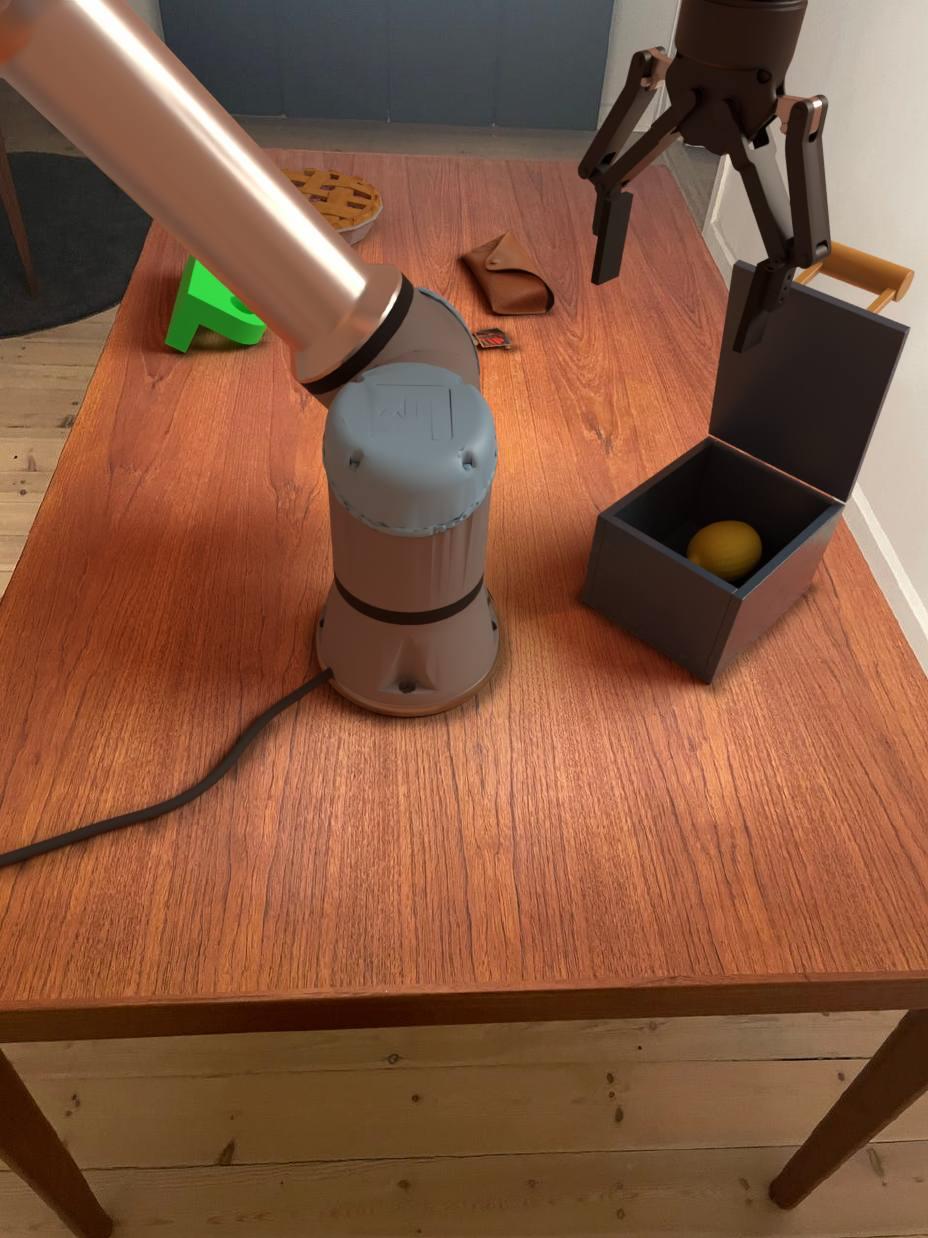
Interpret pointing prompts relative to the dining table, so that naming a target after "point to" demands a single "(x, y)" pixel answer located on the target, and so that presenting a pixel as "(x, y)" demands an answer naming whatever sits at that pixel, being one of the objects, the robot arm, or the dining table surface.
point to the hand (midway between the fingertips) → (672, 311)
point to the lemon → (726, 549)
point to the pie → (340, 200)
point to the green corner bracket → (209, 310)
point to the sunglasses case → (510, 277)
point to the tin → (688, 594)
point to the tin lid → (812, 372)
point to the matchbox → (491, 338)
